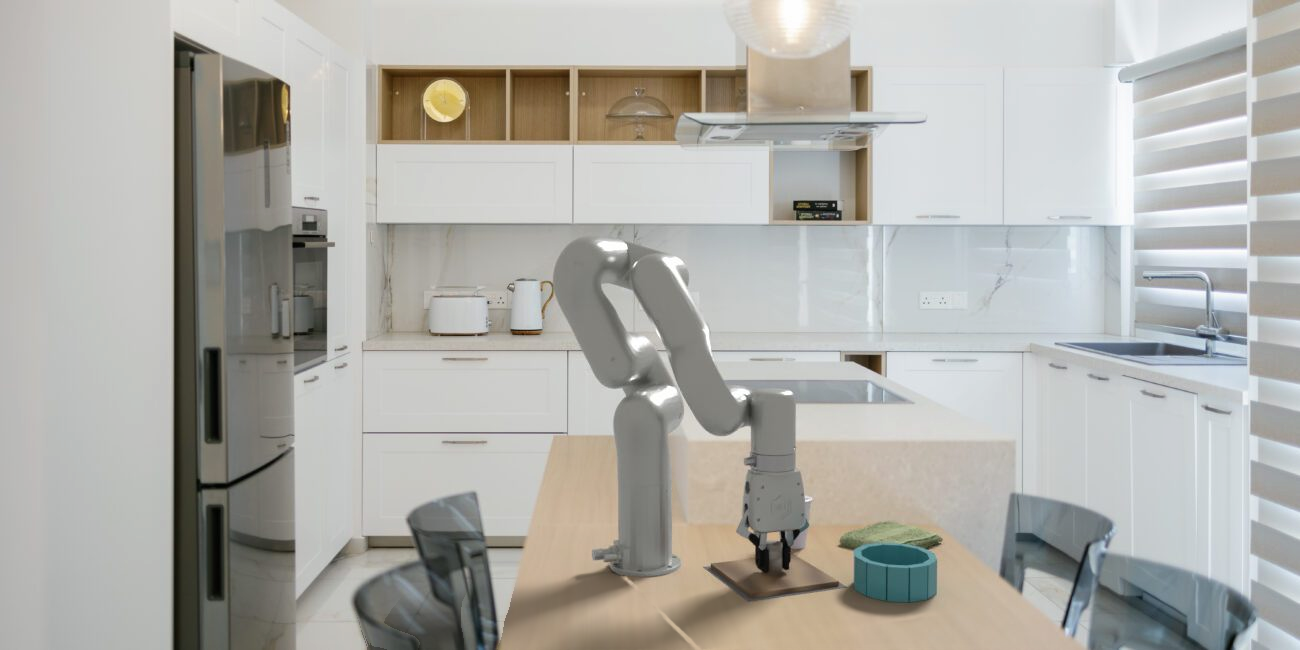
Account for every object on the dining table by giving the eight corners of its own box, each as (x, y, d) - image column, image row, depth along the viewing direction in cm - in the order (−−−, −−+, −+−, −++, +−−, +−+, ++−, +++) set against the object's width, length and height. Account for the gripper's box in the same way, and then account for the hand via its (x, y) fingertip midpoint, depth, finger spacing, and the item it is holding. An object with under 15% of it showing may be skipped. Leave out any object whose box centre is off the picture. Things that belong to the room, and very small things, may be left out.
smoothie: (812, 554, 174) (812, 479, 173) (777, 552, 175) (777, 478, 174) (813, 544, 180) (813, 471, 179) (779, 542, 182) (779, 470, 181)
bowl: (883, 609, 147) (883, 571, 146) (838, 582, 159) (839, 547, 158) (952, 598, 151) (953, 561, 151) (904, 573, 163) (904, 539, 163)
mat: (748, 604, 149) (748, 601, 149) (703, 569, 166) (703, 567, 166) (847, 590, 155) (847, 587, 155) (794, 557, 172) (794, 555, 172)
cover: (751, 598, 150) (751, 562, 150) (710, 568, 165) (710, 535, 165) (838, 585, 156) (839, 551, 155) (791, 557, 171) (792, 526, 170)
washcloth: (946, 545, 181) (946, 528, 181) (892, 565, 169) (892, 547, 169) (888, 530, 191) (888, 514, 191) (833, 548, 179) (833, 531, 179)
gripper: (738, 470, 153) (738, 582, 154) (827, 462, 159) (826, 570, 160) (719, 461, 160) (719, 568, 161) (805, 454, 166) (804, 557, 167)
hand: (773, 567), depth 161 cm, fingers closed on cover, 3 cm apart
